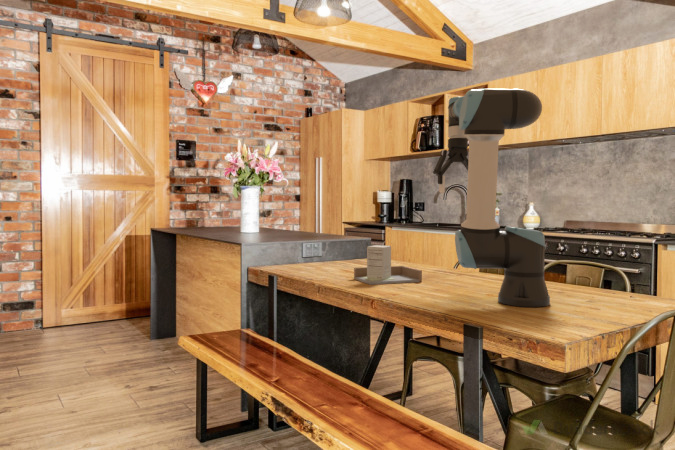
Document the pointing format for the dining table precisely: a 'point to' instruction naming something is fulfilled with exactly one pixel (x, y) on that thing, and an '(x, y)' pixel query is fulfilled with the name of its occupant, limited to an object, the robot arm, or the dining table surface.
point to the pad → (378, 279)
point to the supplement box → (378, 262)
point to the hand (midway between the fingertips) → (457, 193)
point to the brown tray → (397, 272)
